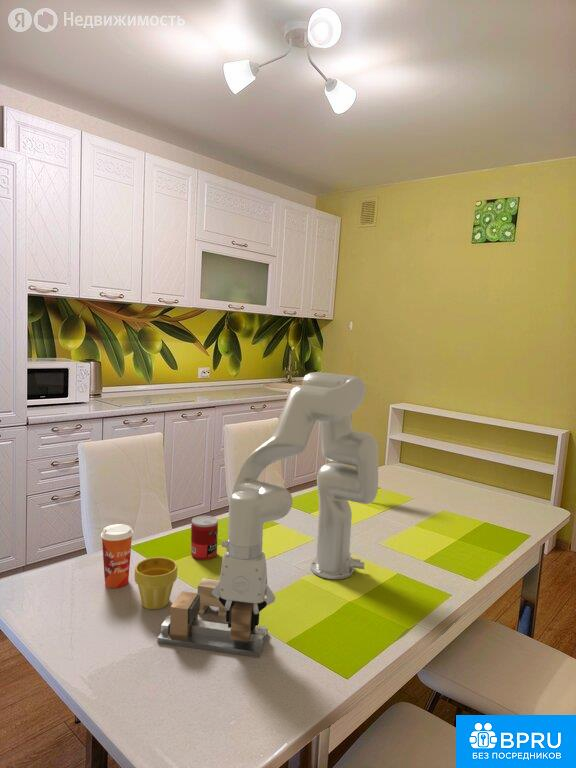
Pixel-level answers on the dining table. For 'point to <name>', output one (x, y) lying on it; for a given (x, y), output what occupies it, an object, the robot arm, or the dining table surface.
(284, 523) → the dining table surface
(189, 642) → the rail
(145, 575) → the plant pot
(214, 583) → the tan notched block
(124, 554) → the coffee cup
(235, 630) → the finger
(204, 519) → the canned food
